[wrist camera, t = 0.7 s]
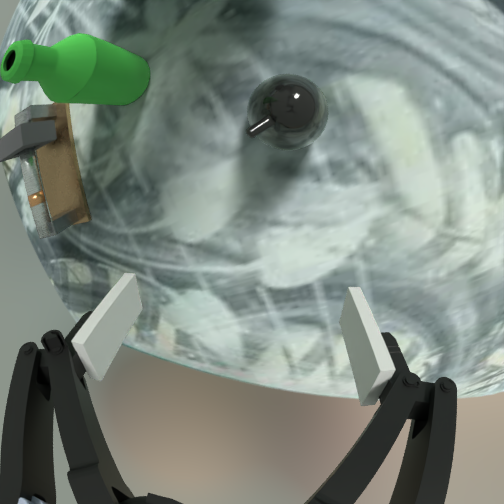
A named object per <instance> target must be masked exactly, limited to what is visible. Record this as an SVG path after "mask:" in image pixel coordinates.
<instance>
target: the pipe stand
mask: <svg viewBox="0 0 504 504" xmlns="http://www.w3.org/2000/svg"><path fill="white" fill-rule="evenodd" d="M48 120H54V122H55V129H56V136H57V139H56V140H54V141H52V142H50V143H48V144H46V145H45V146H43V147H41V148H39V149H37V150H36V152H37V158H38V163H39V168H40V173H41V178H42V182H43V187H44V191H45V195H46V199H47V203H48V207H49V210H50V214H51V218H50V216H49V213H48V209H47V205H46V200H45V197H44V193H43V190H42V185H41V181H40V176H39V171H38V166H37V161H36V155H35V149H34V146H33V147H29V148H25V149H23V150H22V151H20V152H19V156H20V162H21V167H22V172H23V177H24V182H25V186H26V191H27V195H28V200H29V204H30V208H31V210H32V214H33V217H34V221H35V224H36V228H37V231H38V234H39V237H40V239H41V238H46V237H50V236H54V235H57V234H59V233H60V232H62V231H63V230H65V229H66V228H68V227H70V226H71V225H75V224H79V223H83V222H88V221H90V220H92V219H91V215H90V212H89V208H88V204H87V200H86V196H85V192H84V188H83V184H82V180H81V175H80V171H79V166H78V161H77V156H76V150H75V145H74V139H73V132H72V125H71V118H70V109H69V103H56V102H55V103H53V104H50V105H30V106H29V107H27V108H26V109H24V110H23V111H22V112H20V113H18V114H16V115H15V127H17V126H18V125H19V124H23V123H30V122H39V121H48Z"/></svg>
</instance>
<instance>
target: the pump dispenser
mask: <svg viewBox="0 0 504 504" xmlns="http://www.w3.org/2000/svg"><path fill="white" fill-rule="evenodd" d="M247 117H248V122H249V125H250V127H249V128H248V129H247V130H246V134H247V135H248V137H250V138H254V137H256V136H257V137H258V138H259V139H260V140H261V141H262V142H263V143H265V144H266V145H268V146H270V147H273V148H275V149H279V150H286V151H291V150H298V149H301V148H304V147H306V146H308V145H310V144H312V143H313V142H314V141H315V140H316V139H317V138H318V137H319V136H320V135H321V134H322V132H323V131H324V129H325V127H326V124H327V120H328V104H327V100H326V98H325V96H324V94H323V92H322V91H321V89H320V88H319V87H318V86H317V85H316V84H315V83H313V82H312V81H310V80H309V79H307V78H305V77H302V76H299V75H294V74H281V75H276V76H273V77H271V78H269V79H267V80H265V81H263V82H262V83H261V84H260V85H259V86H258V87H257V88H256V89H255V90H254V91H253V93H252V95H251V97H250V99H249V102H248V106H247Z"/></svg>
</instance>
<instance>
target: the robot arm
mask: <svg viewBox="0 0 504 504" xmlns="http://www.w3.org/2000/svg"><path fill="white" fill-rule="evenodd" d="M142 309H143V308H142V303H141V299H140V294H139V289H138V284H137V279H136V274H134V273H125V274H124V275H123V276H122V277H121V278H120V279H119V281H118V282H117V283H116V284H115V285H114V287H113V288H112V289H111V290H110V291H109V293H108V294H107V295H106V296H105V298H104V299H103V300H102V301H101V303H100V304H99V305H98V306H97V308H96V309H95V310H94V311H89V312H87V313H86V314H84V315H83V316H82V317H81V319H80V320H79V322H77V324H76V325H75V327H74V328H73V329H72V330H71V331H70V333H69V334H68V335H67V337H66V338H65V339H64V337H63V335H62V333H61V332H60V331H58V330H51V331H49V332H47V333H45V334H44V335H43V337H42V339H41V343H42V344H43V346H44V348H45V349H38V347H37V345H36V344H35V343H34V342H28V343H26V344H24V345H23V346H22V347H21V348H20V350H19V353H18V356H17V360H16V364H15V367H14V371H13V375H12V380H11V384H10V389H9V394H8V399H7V405H6V410H5V417H4V424H3V434H2V445H1V464H0V465H1V466H0V504H56V489H55V478H54V464H53V414H54V408H55V413H56V418H57V423H58V427H59V431H60V436H61V439H62V443H63V447H64V450H65V454H66V457H67V460H68V463H69V467H70V471H69V472H68V473H67V476H68V480H69V483H70V486H71V488H72V491H73V494H74V496H75V499H76V501H77V503H78V504H182V503H180V502H178V501H175V500H173V499H170V498H166V497H162V496H158V495H154V494H151V493H148V495H147V496H140V497H134V495H133V494H132V492H131V491H130V489H129V488H128V487H127V486H126V484H125V483H124V481H123V479H122V477H121V475H120V473H119V471H118V469H117V467H116V464H115V462H114V460H113V458H112V456H111V453H110V451H109V448H108V446H107V443H106V441H105V438H104V436H103V433H102V430H101V428H100V425H99V422H98V419H97V417H96V414H95V411H94V407H93V404H92V401H91V398H90V394H89V391H88V387H87V384H86V380H85V378H84V376H83V375H84V373H85V372H87V373H88V375H89V377H90V378H92V379H95V380H99V381H102V379H103V377H104V375H105V373H106V371H107V369H108V368H109V366H110V364H111V362H112V360H113V359H114V357H115V355H116V353H117V352H118V350H119V348H120V346H121V344H122V343H123V341H124V339H125V338H126V336H127V334H128V332H129V331H130V329H131V327H132V326H133V324H134V322H135V321H136V319H137V317H138V316H139V314H140V312H141V311H142ZM339 323H340V327H341V330H342V334H343V337H344V341H345V345H346V348H347V352H348V356H349V360H350V363H351V367H352V371H353V375H354V379H355V383H356V387H357V391H358V396H359V400H360V404H361V406H368V405H375V404H376V402H377V401H378V399H380V403H381V405H380V407H379V408H378V410H377V411H376V412H375V414H374V416H373V418H372V419H371V421H370V423H369V424H368V425H367V427H366V428H365V430H364V431H363V433H362V434H361V436H360V437H359V438H358V440H357V441H356V443H355V444H354V445H353V447H352V448H351V450H350V451H349V452H348V453H347V455H346V456H345V458H344V459H343V460H342V461H341V462H340V464H339V465H338V466H337V467H336V469H335V470H334V471H333V472H332V473H331V475H330V476H329V477H328V478H327V480H326V481H325V482H324V483H323V484H322V485H321V486H320V488H319V489H318V490H317V491H316V492H315V493H314V494H313V495H312V496H311V497H310V498H309V499H308V500H307V501H306V502H305V503H304V504H354V503H355V502H356V500H357V499H358V497H359V496H360V495H361V494H362V492H363V491H364V490H365V488H366V487H367V485H368V484H369V482H370V481H371V479H372V478H373V477H374V475H375V474H376V472H377V471H378V469H379V467H380V466H381V464H382V463H383V461H384V459H385V458H386V456H387V454H388V453H389V451H390V449H391V447H392V446H393V444H394V442H395V441H396V439H397V437H398V435H399V433H400V431H401V429H402V428H403V426H404V423H405V422H406V419H412V421H411V426H410V431H409V436H408V440H407V445H406V449H405V453H404V457H403V461H402V465H401V469H400V472H399V475H398V479H397V482H396V485H395V488H394V491H393V494H392V497H391V500H390V503H389V504H444V502H445V498H446V494H447V489H448V484H449V478H450V473H451V467H452V460H453V452H454V444H455V432H456V415H457V387H456V384H455V383H454V381H452V380H451V379H449V378H447V377H441V378H439V379H438V380H437V381H436V382H435V383H429V382H423V381H421V379H420V378H419V377H418V376H417V375H416V374H414V373H411V372H410V371H409V368H408V366H407V364H406V361H405V359H404V357H403V354H402V352H401V350H400V348H399V347H398V343H397V341H396V339H395V338H394V337H393V336H392V335H391V334H390V333H389V332H385V333H381V332H380V330H379V328H378V326H377V323H376V321H375V319H374V317H373V314H372V312H371V310H370V308H369V306H368V303H367V301H366V299H365V297H364V295H363V293H362V291H361V288H360V287H348V290H347V294H346V298H345V302H344V306H343V310H342V314H341V317H340V321H339Z"/></svg>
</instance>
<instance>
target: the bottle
mask: <svg viewBox="0 0 504 504" xmlns="http://www.w3.org/2000/svg"><path fill="white" fill-rule="evenodd" d="M0 73H1V77H2V79H3V80H4V81H7V82H11V83H14V84H16V83H19V82H20V81H38V82H39V84H40V86H41V87H42V89H43V91H44V93H45V94H46V96H47V97H48V98H49V99H50V100H51V101H54V102H56V103H81V104H105V105H127V104H129V103H132V102H134V101H135V100H136V99H138V98H139V97H140V96H141V95H142V94H143V92H144V91H145V89H146V88H147V85H148V82H149V79H150V69H149V66H148V64H147V62H146V61H145V60H144V59H143V58H142V57H140V56H138V55H136V54H134V53H132V52H129V51H127V50H125V49H123V48H120V47H118V46H116V45H113V44H111V43H109V42H106V41H104V40H101V39H99V38H96V37H94V36H91V35H88V34H81V33H78V34H75V35H72V36H69V37H67V38H65V39H64V40H62V41H60V42H58V43H57V44H55V45H53V46H51V47H47V46H42V45H36V44H33V43H32V41H31V40H21V41H16V42H14V43H13V44H12V45H11V46H10V47H9V48H8V50H7V51H6V53H5V55H4V57H3V60H2V63H1V70H0Z"/></svg>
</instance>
